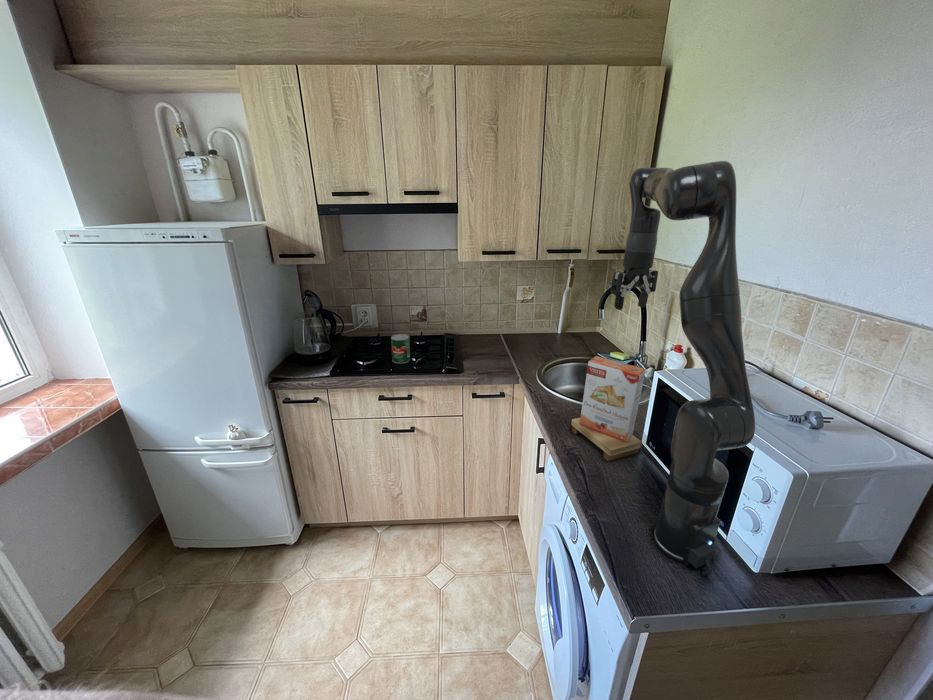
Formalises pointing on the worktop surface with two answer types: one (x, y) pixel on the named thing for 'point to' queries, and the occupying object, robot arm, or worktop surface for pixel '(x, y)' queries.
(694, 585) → the worktop surface
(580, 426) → the tan wooden slab
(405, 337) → the canned tomato
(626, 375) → the cracker box
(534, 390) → the worktop surface
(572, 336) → the worktop surface
